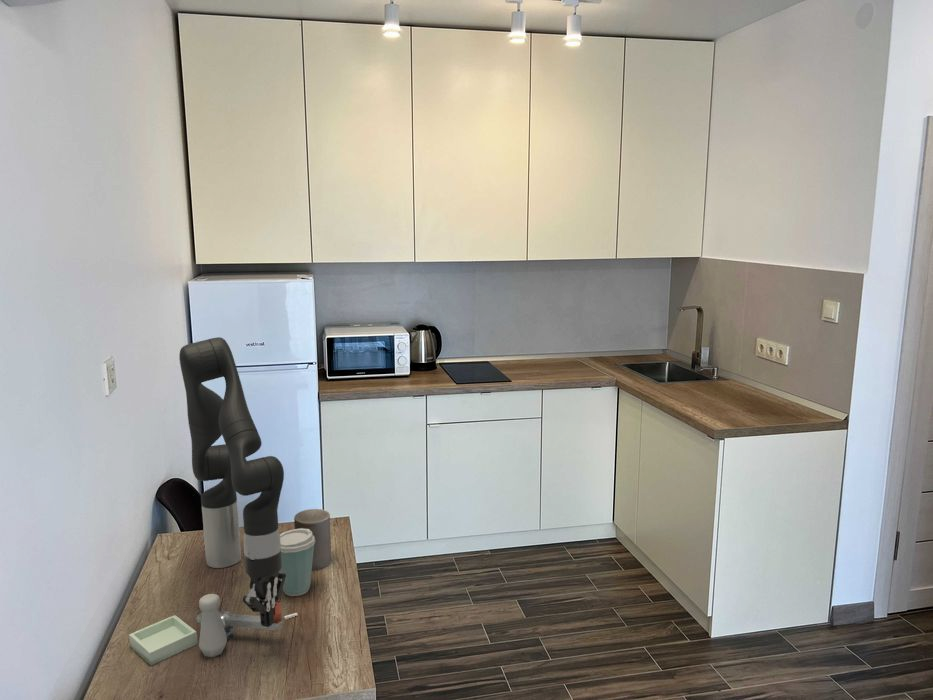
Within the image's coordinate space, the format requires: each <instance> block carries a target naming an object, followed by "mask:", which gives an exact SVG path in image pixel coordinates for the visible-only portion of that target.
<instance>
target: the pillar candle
mask: <svg viewBox="0 0 933 700" xmlns="http://www.w3.org/2000/svg"><path fill="white" fill-rule="evenodd" d="M293 517H294V519H293V520H294V522H293V524H294V525H293V526H294V529H300V528H303V529H309V530H310V531H312V535H313V536H314V537H315V543H314V550H313V561H312V571H316V570H317V571H318V570H322V569H324V568H326V567H328V566H329V565H330V564H331V563H332V541H331V538H332V537H331V514H330V512H329V511H327V510H325V509H323V508H310V509H304V510H301V511H299V512H297V513H296V514H295V515H294V516H293Z"/></svg>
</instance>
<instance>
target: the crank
mask: <svg viewBox="0 0 933 700" xmlns="http://www.w3.org/2000/svg"><path fill="white" fill-rule="evenodd" d="M281 603H282V602H281V601H280V600H278V601H276V602H275V606H274V608H273V612H274V613H273V614H274V623H273V624H272V625H271V626H270V627H265V626H262V625H261V620H260V615H254V614H253V615H252V614H239V613H231V612H230V611H229V610H221V611H220V610H219V612H220V616H221V619H222V623H223V626H224V630H225V631H227V630H228V629H230V628H231V626H232V627H233V628H234V627H235V628H245V629H247V628H248V629H260V630H270V631H271V630H272V631H279V629H280V628H281V627H282V626H283V618H282V605H281ZM201 621H202V611H201V612H200V613H199V614H198V615H197V616H196V623H197V624H198V625H199V624H200V625H201Z"/></svg>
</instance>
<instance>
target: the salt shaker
mask: <svg viewBox="0 0 933 700" xmlns="http://www.w3.org/2000/svg"><path fill="white" fill-rule="evenodd" d="M198 601H199V602H198V607H199V610H200V611H201V612H202V621H201V624H200V632H199V638H198V639H199V641H198V648H199V649H200V651H201V652H202V653H203V656H204V657H205V658H206V657H208V658H215V657H217V656H220V655H222V654H223V652H224V649H225V648H226V645H227V642H228V641H227V637H226V633H225V630H224V626H223V623H222V619H221V616H220V610H219V607H220V605H221V597H220V596H219V595H218V594H216V593H208V594H205V595H203V596H202V597H200V599H199V600H198Z"/></svg>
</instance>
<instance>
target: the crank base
mask: <svg viewBox="0 0 933 700" xmlns="http://www.w3.org/2000/svg"><path fill="white" fill-rule="evenodd" d="M234 630H235V629H234V627H232V626H231V628H230V629H228V630H227V631H225V633H226V637H227V642H228V641H230V640H232V639H233V637H234V636H235V633H234Z"/></svg>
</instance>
